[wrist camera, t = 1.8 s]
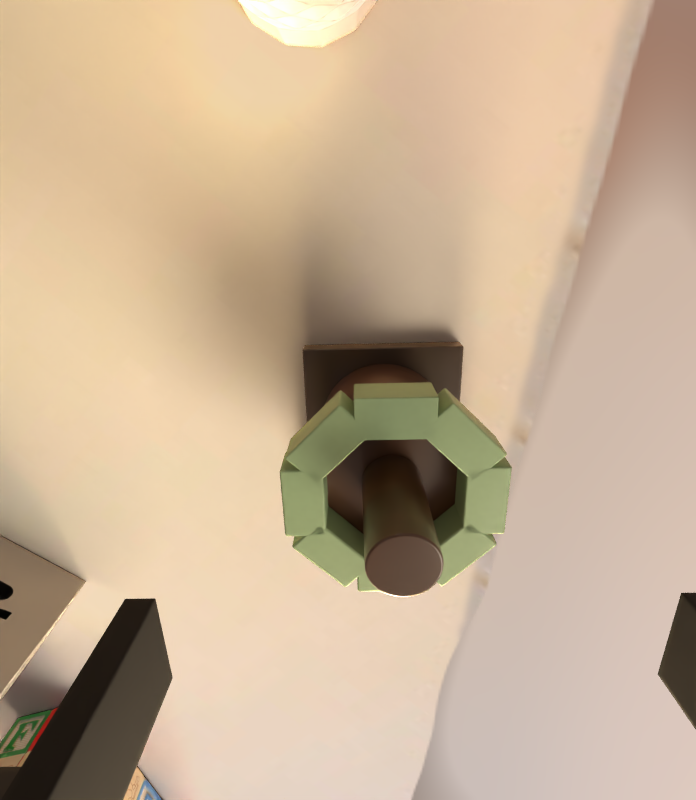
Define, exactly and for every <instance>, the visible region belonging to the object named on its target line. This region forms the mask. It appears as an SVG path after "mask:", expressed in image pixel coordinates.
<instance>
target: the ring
mask: <svg viewBox="0 0 696 800" xmlns="http://www.w3.org/2000/svg"><path fill="white" fill-rule="evenodd" d="M410 439H427V440H428V441H429V442H430V443H431V444H432V445H433V446H434V447H436V448H437V449H438V450H439V451H440V452H441V453H442V454H443V455H444V456H445V457H446V458H447V459H449V460H450V461H451V462H452V463H453V464H454V465H455V466H456V467H457V479H456V494H455V504H454V505H453V506H452V507H450V508H449V509H448V510H447V511H445V512H444V513H443V514H442V515H440V516H439V517H438V518H437V519H436V520H434V521H433V522H434V526H435V529H436V533H437V537H438V540H439V544H440V548H441V552H442V555H443V560H444V566H443V571H442V574H441V576H440V578H439V580H438V581H437V583H438V584H440V585H441V586H443V585H445V584H446V583H447V582H448V581H450V580H451V579H452V578H454V577H455V576H456V575H458V574H459V573H460V572H462V571H463V570H464V569H466V568H467V567H468V566H470V565H471V564H472V563H473V562H475V561H476V560H477V559H479V558H480V557H481V556H483V555H484V554H485V553H487V552H488V551H489V550H491V549H492V548H493V547H494V546H496V541H495V539H494V537H493V535H492V534H503V533H504V530H505V521H506V513H507V504H508V496H509V487H510V478H511V470H512V467H511V466H510V464H509V463H508V461H507V460H506V458H505V456H506V455H507V454H506V452H505V450H504V449H503V447H502V446H501V444H500V443H499V441H498V440H497V438H496V437H495V436H494V435H493V434H492V433H491V432H490V431H489V430H488V429H487V428H486V427H485V426H484V425H483V424H482V423H481V422H480V421H479V420H478V419H477V418H476V417H475V416H474V415H473V414H472V413H471V412H470V411H469V410H468V409H467V408H466V407H465V406H464V405H463V404H462V403H461V402H460V401H458V400H457V399H456V398H455V397H454V396H453V395H452V394H451V393H450V392H449V391H448V390H447V389H446V388H444V389H443V390H442V391H441V392H440V393H439V394H437V393H436V391H435V389H434V387H433V385H432V383H431V382H423V383H372V384H354V401H353V400H351V399H350V398H349V397H348V396H347V395H346V394H345V393H344V392H343V391H341V390H340V391H339V392H338V393H336V394H335V395H334V396H333V397H332V398H331V399H330V400H329V401H328V402H327V403H326V404H325V405H324V406H323V407H322V408H321V409H320V410H319V411H318V412H317V413H316V414H315V415H314V416H313V417H312V418H311V419H310V420H309V421H308V422H307V423H306V424H305V425H304V426H303V427H302V428H301V429H300V430H299V431H298V432H297V433H296V434H295V435H294V436H293V437H292V438H291V440H290V443H289V446H288V450H287V452H286V453H285V456H284V460H283V463H282V466H281V470H280V480H281V491H282V503H283V514H284V525H285V534H286V536H294V541H293V548H294V549H295V550H297V551H298V552H299V553H301V554H302V555H303V556H305V557H306V558H307V559H309V560H310V561H311V562H313V563H314V564H315V565H316V566H318V567H319V568H320V569H322V570H323V571H324V572H326V573H327V574H328V575H330V576H331V577H332V578H334V579H335V580H336V581H338V582H339V583H340V584H342V585H343V586H344V587H346V586H348V585H349V584H350V583H351V582H353V581H354V580H355V579H356V578H357V581H358V591H360V592H363V591H380V590H378V589H377V588H376V587H375V586H373V584H372V583H371V582H370V581H369V579H368V577H367V575H366V572H365V563H364V534H363V533H361V532H360V531H359V530H358V529H356V528H355V527H354V526H353V525H351V524H350V523H349V522H348V521H346V520H345V519H344V518H343V517H341V516H340V515H339V514H338V513H337V512H335V511H334V510H333V509H332V508H330V507H329V506H328V490H327V475H328V474H329V473H330V472H331V471H332V470H333V469H334V468H335V467H336V466H337V465H339V464H340V463H341V462H342V461H343V460H344V459H345V458H346V457H347V456H348V455H349V454H350V453H351V452H352V451H354V450H355V449H356V448H357V447H358V446H359V445H360V444H361V443H362V442H363V441H364V440H410ZM428 590H429V589H428ZM428 590H427V591H428Z"/></svg>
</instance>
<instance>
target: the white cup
mask: <svg viewBox="0 0 696 800" xmlns="http://www.w3.org/2000/svg"><path fill="white" fill-rule="evenodd" d="M238 2H239V3H240V5H241V7H242V8H243V10H244V11H245V13H246V14H247V16H248V18H249V19H250V21H251V22H252V23H253V24H254V25H255V26H257V27H258V28H260V29H262V30H263V31H265V32H266V33H268V34H269V35H271V36H272V37H274V38H275V39H277V40H279V41H280V42H282V43H283V44H285V45H290V46H306V47H324V46H326V45H328V44H330V43H332V42H334V41H336V40H338V39H340V38H342V37H344V36H346V35H348V34H349V33H351V32H353V31H355V30H356V29H357V28H358V26H359V25H360V24H361V22H362V21H363V20H364V18H365V17H366V15H367V14H368V13H369V11H370V10H371V9H372V7H373V6H374V5H375V3H376V2H377V0H238Z"/></svg>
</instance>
